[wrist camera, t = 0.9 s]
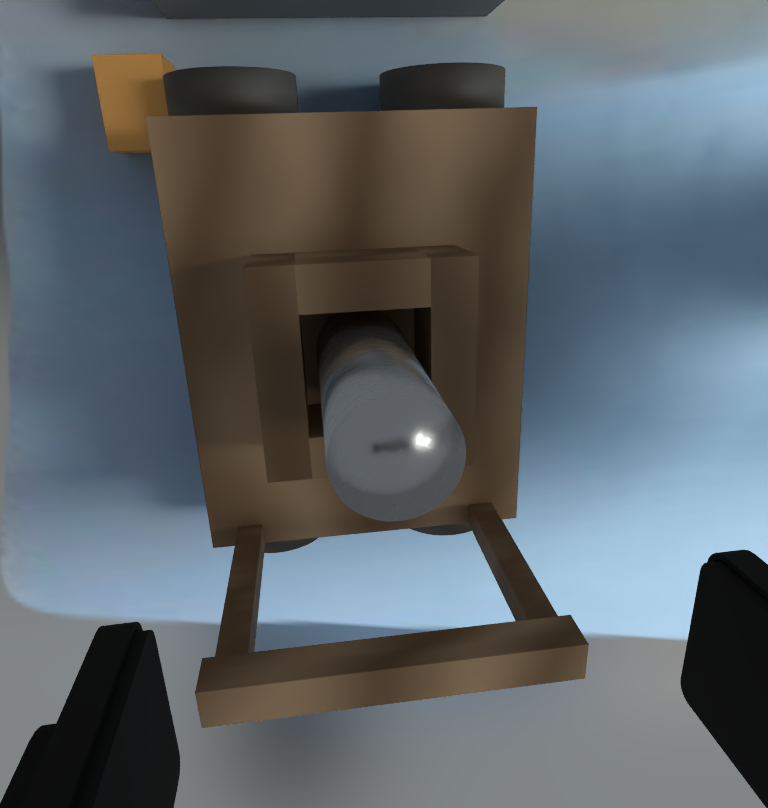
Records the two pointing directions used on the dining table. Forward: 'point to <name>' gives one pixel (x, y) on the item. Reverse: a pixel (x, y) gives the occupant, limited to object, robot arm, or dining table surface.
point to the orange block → (130, 97)
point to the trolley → (297, 351)
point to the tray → (323, 8)
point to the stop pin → (384, 421)
